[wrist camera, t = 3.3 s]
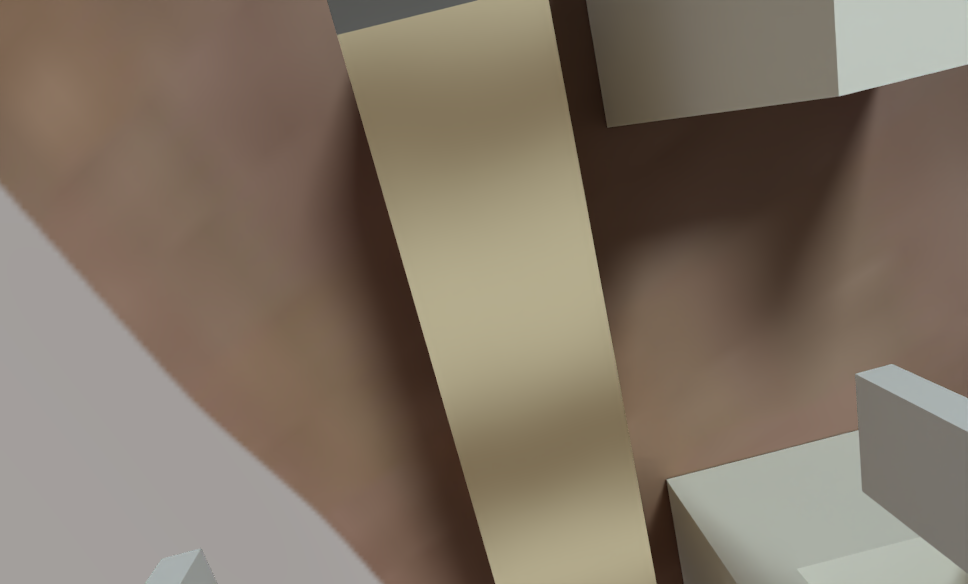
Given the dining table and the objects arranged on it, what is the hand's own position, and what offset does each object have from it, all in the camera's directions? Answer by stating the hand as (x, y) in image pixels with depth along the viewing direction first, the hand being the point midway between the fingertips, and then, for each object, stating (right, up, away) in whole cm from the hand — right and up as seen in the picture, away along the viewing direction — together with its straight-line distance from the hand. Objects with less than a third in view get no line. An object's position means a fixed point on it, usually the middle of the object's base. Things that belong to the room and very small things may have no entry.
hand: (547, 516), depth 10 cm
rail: (0, +2, +8) cm, 8 cm away
